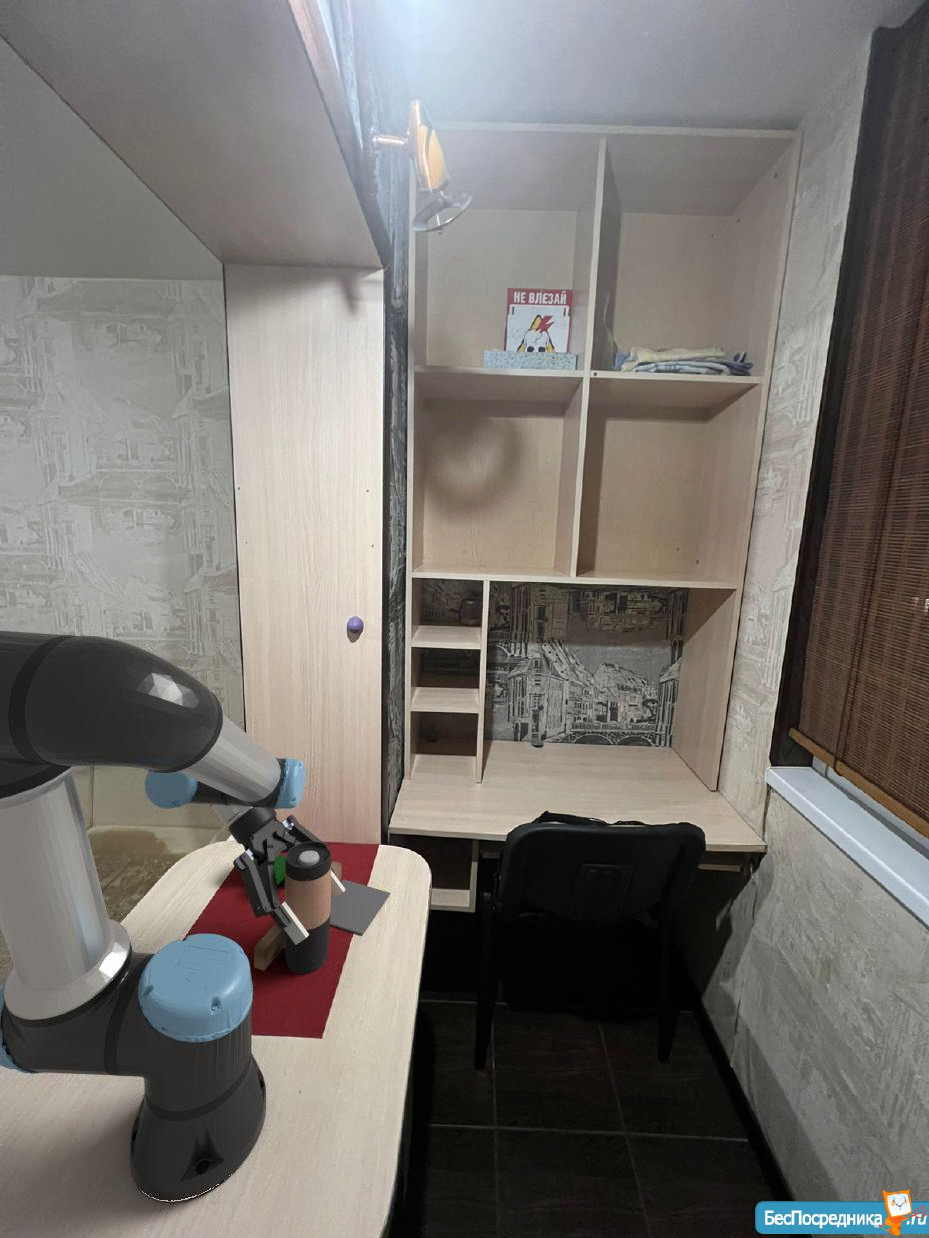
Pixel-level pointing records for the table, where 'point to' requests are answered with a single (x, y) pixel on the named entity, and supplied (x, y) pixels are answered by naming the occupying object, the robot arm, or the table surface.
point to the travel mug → (308, 904)
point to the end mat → (356, 907)
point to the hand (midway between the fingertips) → (322, 915)
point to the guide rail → (278, 937)
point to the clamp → (278, 868)
